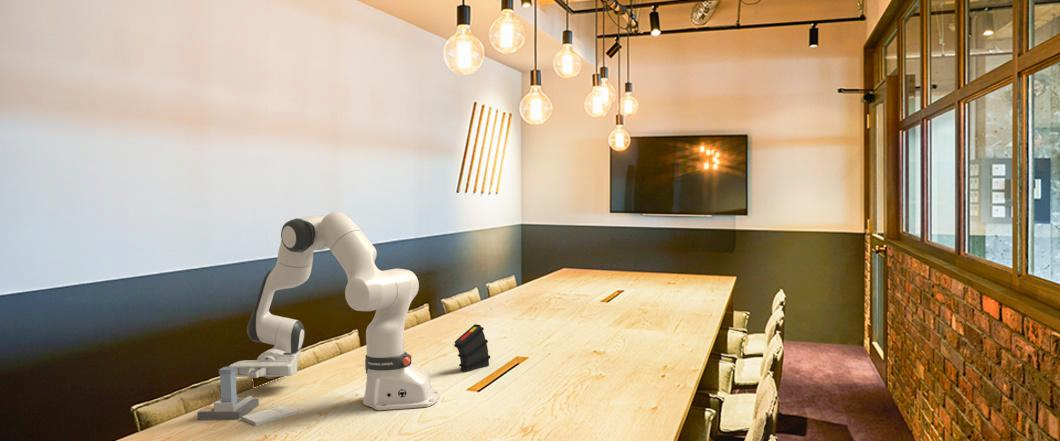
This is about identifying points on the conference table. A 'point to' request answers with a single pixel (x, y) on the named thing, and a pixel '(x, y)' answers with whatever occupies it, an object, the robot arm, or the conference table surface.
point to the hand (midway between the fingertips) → (251, 375)
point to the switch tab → (228, 384)
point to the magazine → (473, 349)
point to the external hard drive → (268, 415)
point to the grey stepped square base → (228, 409)
